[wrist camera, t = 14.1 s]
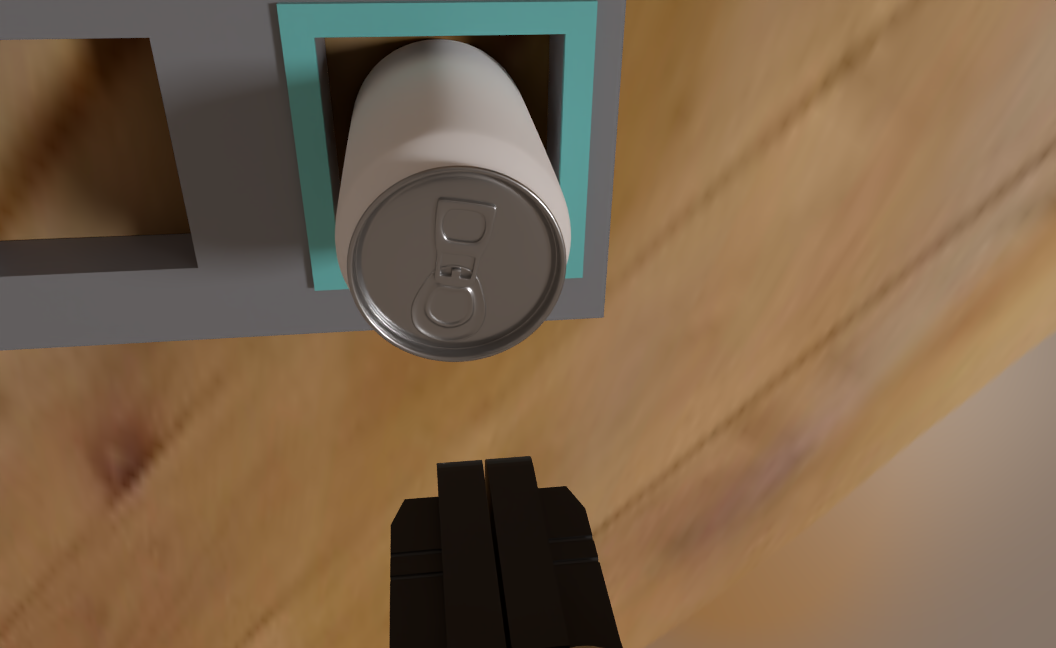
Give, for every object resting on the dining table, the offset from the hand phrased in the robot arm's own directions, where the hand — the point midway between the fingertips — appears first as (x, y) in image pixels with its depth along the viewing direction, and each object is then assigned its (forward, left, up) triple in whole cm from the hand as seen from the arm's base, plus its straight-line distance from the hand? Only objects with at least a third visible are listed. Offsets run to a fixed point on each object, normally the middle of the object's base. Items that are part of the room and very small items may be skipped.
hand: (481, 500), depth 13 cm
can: (+1, 0, -21) cm, 21 cm away
